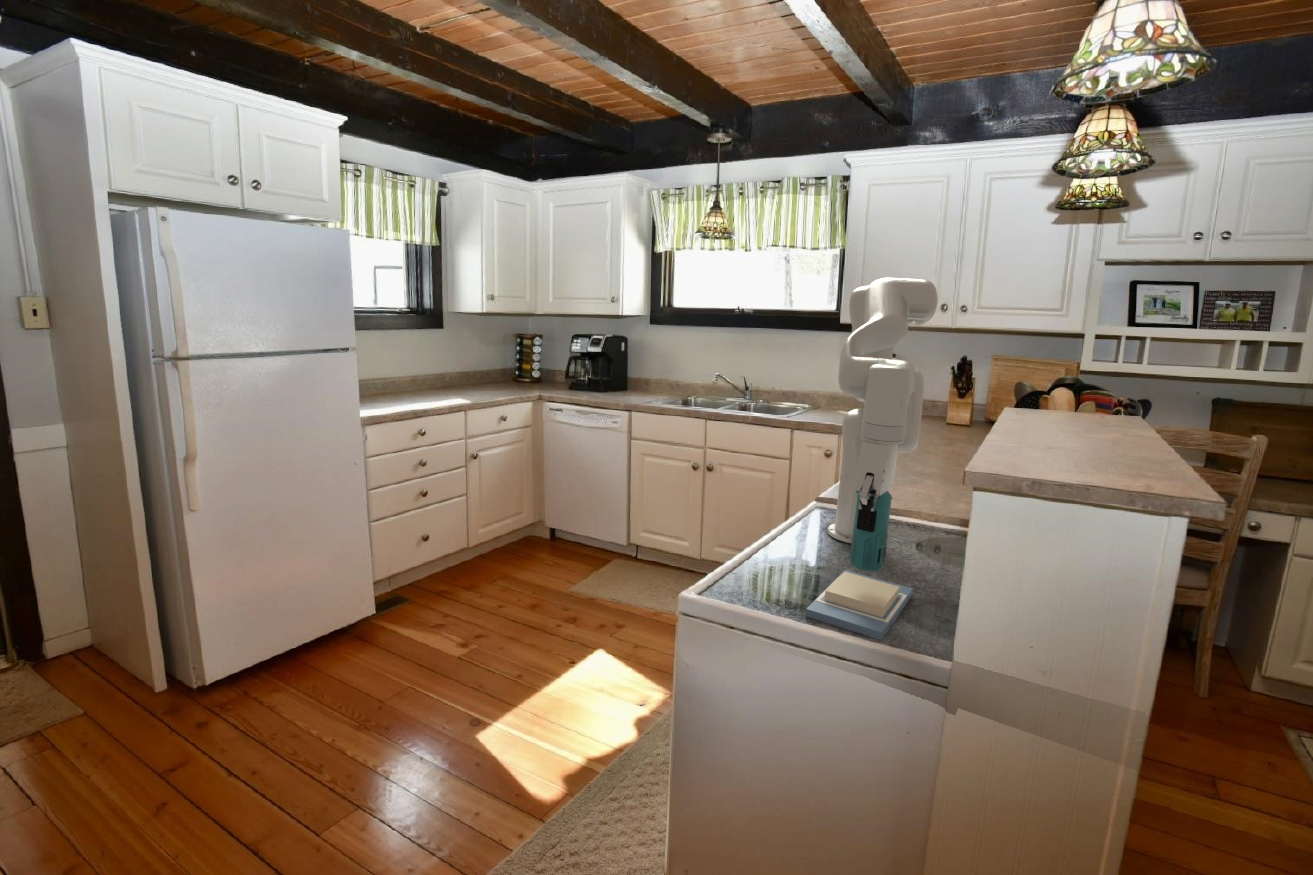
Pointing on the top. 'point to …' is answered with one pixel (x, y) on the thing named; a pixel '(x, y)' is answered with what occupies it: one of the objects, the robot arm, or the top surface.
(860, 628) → the board
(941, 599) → the top surface
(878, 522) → the beverage bottle
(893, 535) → the top surface
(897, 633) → the top surface
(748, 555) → the top surface
